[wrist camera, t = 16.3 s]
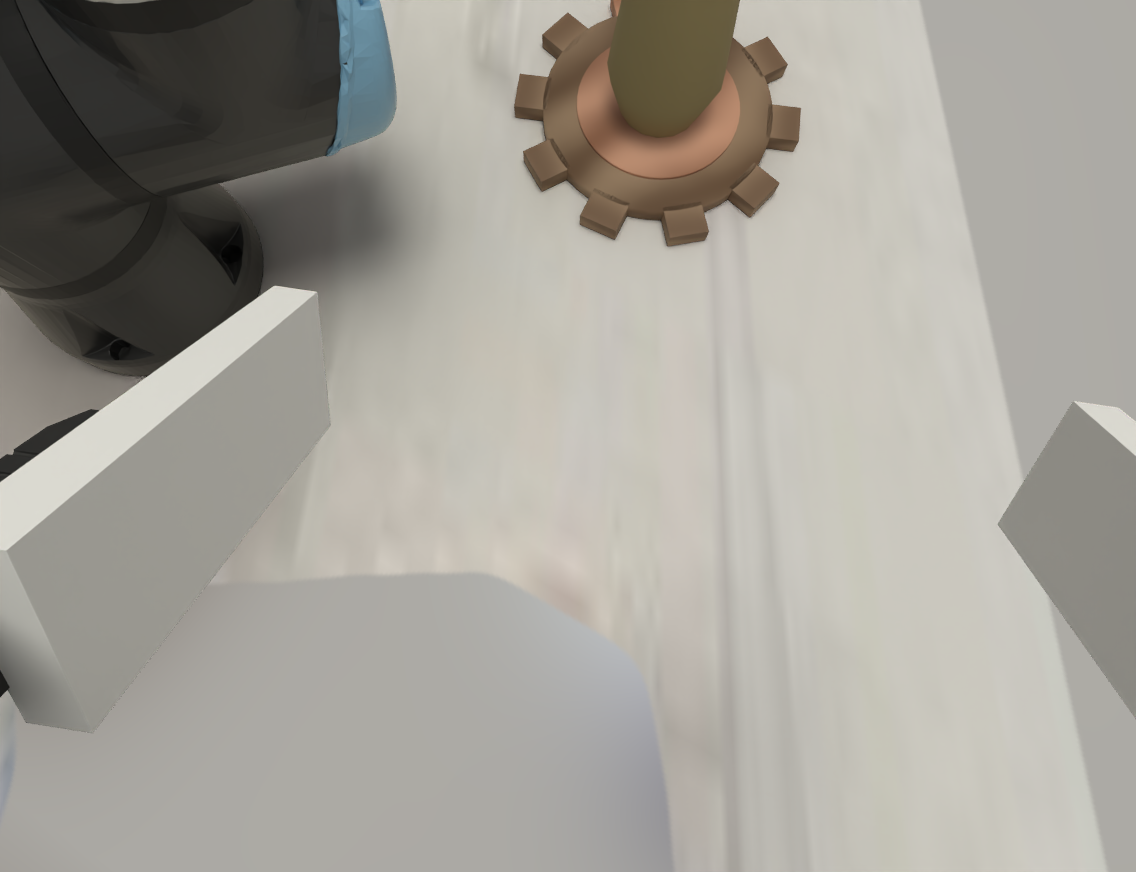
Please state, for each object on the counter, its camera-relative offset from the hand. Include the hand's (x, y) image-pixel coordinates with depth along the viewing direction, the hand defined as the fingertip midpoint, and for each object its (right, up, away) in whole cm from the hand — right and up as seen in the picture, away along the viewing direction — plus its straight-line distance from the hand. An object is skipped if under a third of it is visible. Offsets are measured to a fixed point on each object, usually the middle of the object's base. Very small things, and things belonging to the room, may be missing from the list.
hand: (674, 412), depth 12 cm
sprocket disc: (+5, +24, +38) cm, 45 cm away
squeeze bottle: (+5, +24, +36) cm, 44 cm away
